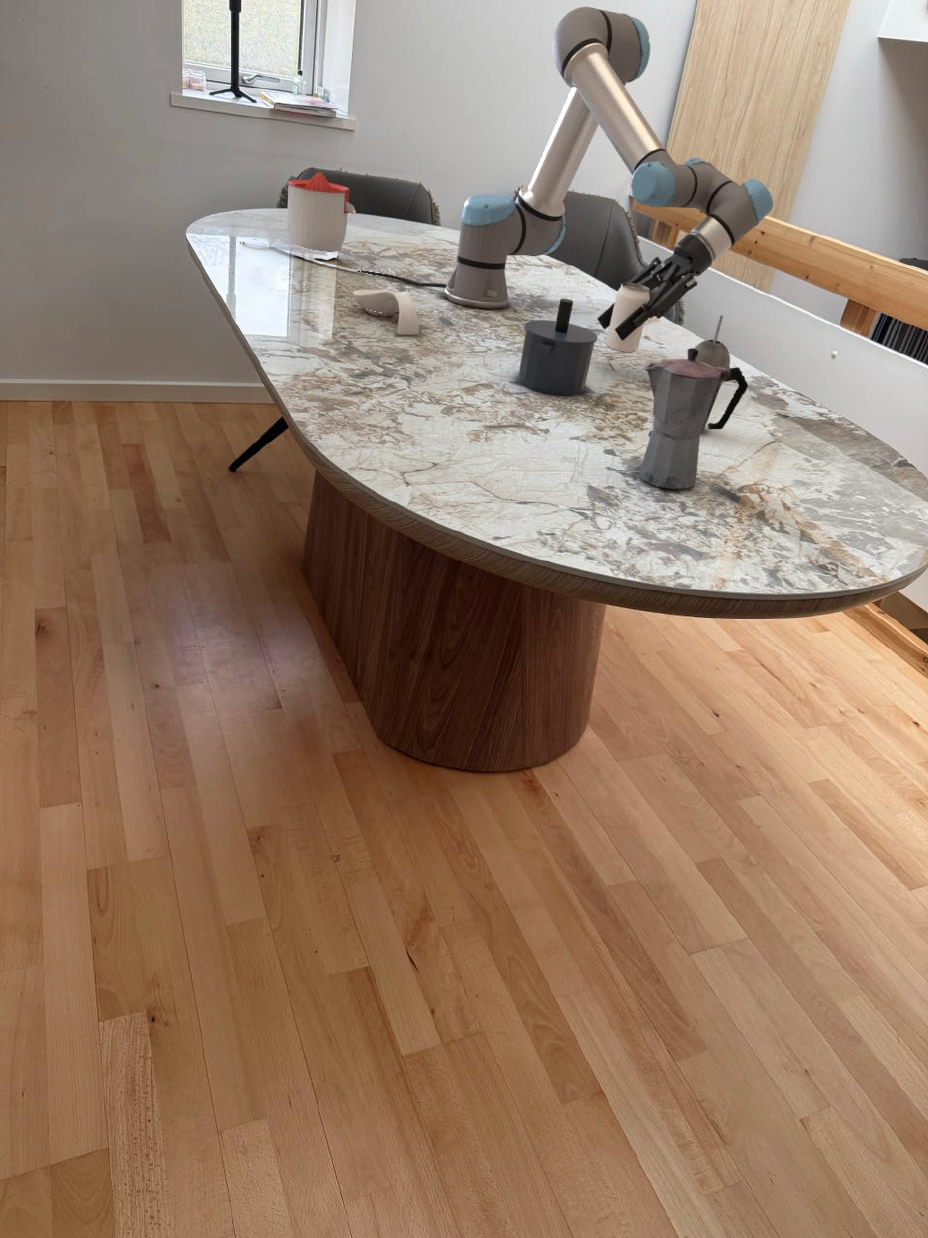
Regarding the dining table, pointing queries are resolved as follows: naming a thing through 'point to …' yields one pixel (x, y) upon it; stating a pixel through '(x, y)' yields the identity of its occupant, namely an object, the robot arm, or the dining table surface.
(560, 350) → the pot
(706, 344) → the beverage cup
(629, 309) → the can
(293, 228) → the citrus juicer
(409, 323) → the beige curved piece
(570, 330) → the pot lid
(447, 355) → the dining table surface
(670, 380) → the moka pot
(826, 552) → the dining table surface
